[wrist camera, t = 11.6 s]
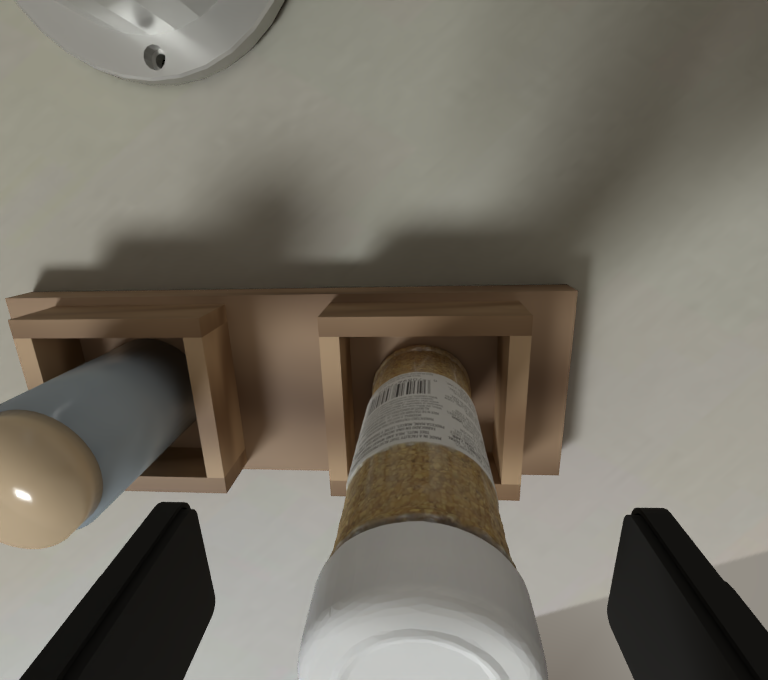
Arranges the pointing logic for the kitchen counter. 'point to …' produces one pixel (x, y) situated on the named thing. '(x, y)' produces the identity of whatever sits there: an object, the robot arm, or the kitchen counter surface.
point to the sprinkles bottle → (421, 545)
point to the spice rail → (318, 368)
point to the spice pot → (88, 439)
